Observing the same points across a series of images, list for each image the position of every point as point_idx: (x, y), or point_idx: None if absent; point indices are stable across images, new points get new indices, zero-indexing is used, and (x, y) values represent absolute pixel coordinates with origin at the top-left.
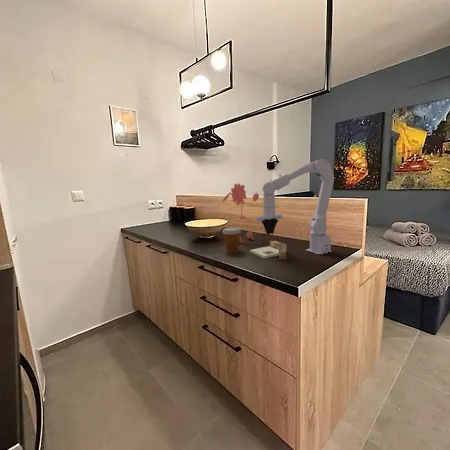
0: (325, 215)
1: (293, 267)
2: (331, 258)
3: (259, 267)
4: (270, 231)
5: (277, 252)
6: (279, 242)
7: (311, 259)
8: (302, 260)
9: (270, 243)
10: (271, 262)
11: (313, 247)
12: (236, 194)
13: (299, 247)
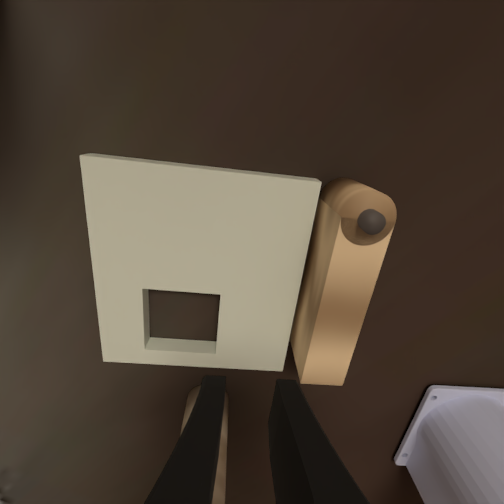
0: None
1: None
2: (375, 497)
3: (8, 426)
4: (279, 418)
5: (233, 356)
6: (361, 310)
7: None
8: (262, 461)
9: (332, 211)
10: (110, 410)
11: (432, 456)
12: None
13: (482, 317)
